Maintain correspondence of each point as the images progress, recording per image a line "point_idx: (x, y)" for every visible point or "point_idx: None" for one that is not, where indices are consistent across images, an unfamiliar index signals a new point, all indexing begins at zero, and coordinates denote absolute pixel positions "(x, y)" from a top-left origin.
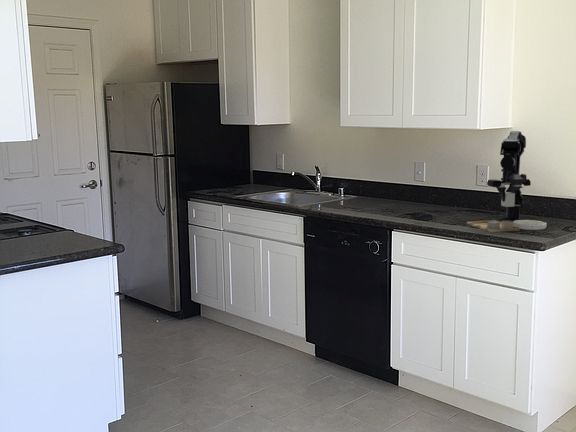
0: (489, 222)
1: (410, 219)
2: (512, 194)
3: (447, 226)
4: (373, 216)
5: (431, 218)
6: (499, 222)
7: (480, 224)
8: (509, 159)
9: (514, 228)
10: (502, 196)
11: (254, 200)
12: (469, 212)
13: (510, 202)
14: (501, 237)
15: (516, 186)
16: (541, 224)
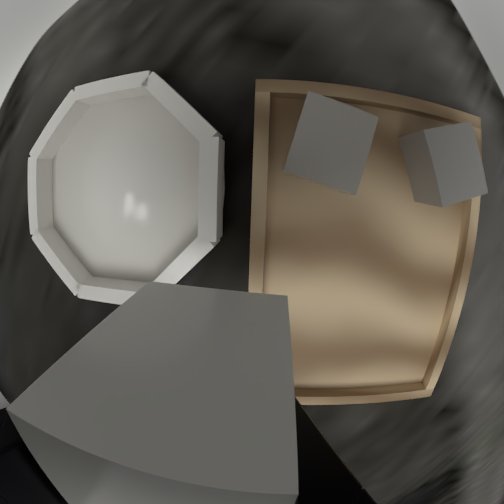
0: (483, 171)
1: (467, 478)
2: (79, 421)
3: (498, 370)
4: (486, 494)
5: (407, 496)
6: (425, 131)
7: (378, 362)
8: None
9: (304, 81)
10: (334, 475)
11: None
12: None
13: (199, 316)
14: (447, 19)
15: None
16: (45, 186)
